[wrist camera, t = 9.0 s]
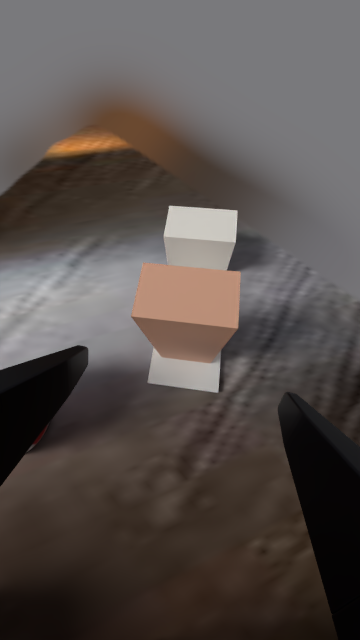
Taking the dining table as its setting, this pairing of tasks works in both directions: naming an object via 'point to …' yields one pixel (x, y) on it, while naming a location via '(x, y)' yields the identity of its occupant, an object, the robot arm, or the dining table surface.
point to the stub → (187, 310)
